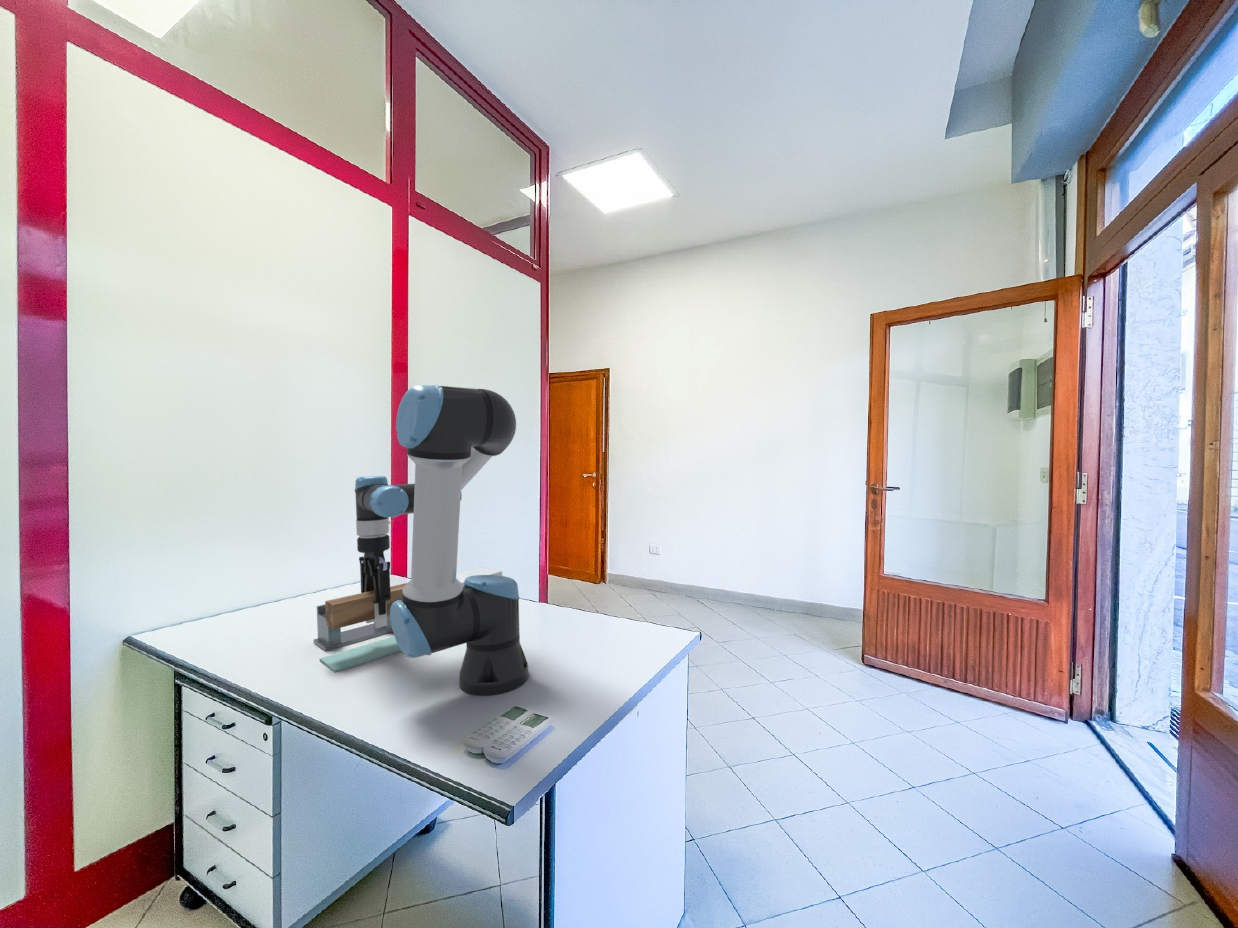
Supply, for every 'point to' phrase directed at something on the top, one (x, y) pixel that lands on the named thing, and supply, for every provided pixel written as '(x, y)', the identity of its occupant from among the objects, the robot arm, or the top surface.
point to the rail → (357, 607)
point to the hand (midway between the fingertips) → (376, 623)
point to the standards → (345, 632)
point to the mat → (361, 654)
